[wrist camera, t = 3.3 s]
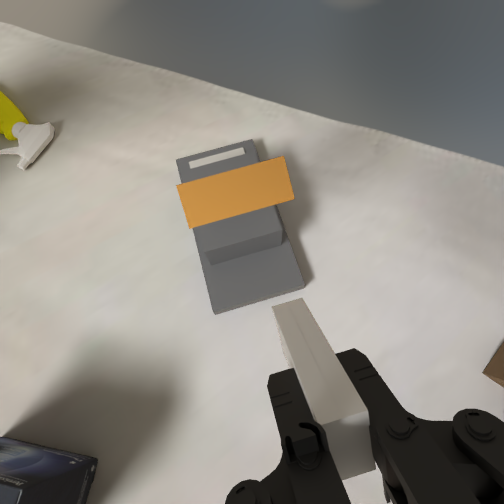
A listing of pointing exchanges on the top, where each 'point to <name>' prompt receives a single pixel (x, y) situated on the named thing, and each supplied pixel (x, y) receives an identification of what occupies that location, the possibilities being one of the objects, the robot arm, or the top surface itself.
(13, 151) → the spray bottle
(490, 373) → the photo frame
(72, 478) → the small box
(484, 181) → the top surface
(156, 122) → the top surface
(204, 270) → the block
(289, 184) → the lever
